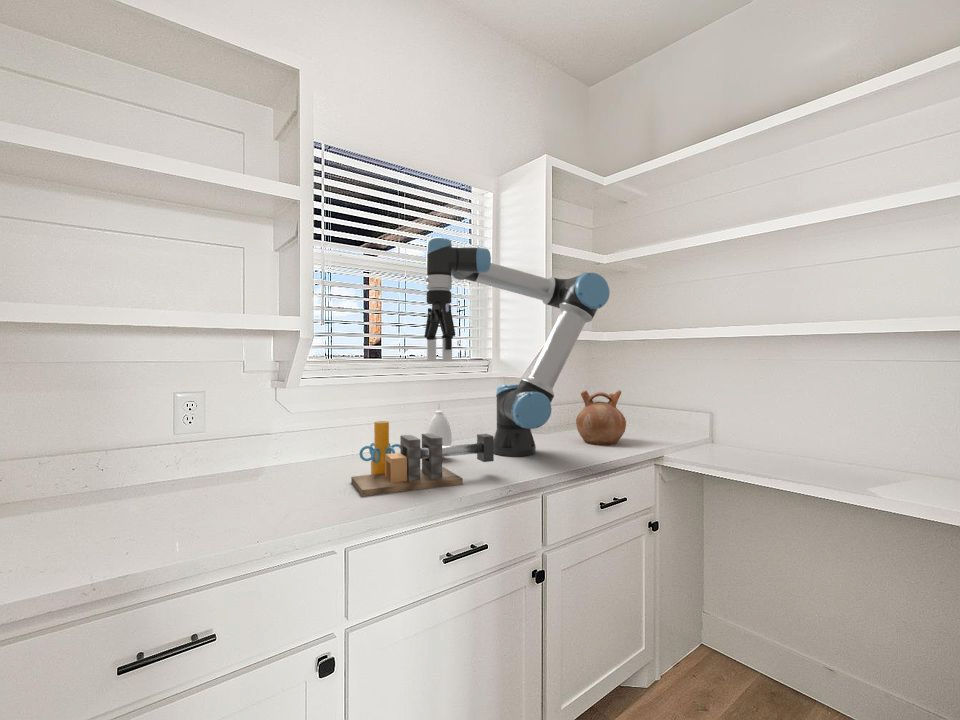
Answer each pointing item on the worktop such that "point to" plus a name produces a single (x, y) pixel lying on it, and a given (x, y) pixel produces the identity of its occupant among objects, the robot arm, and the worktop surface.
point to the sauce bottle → (440, 427)
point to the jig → (412, 469)
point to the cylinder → (379, 447)
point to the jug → (601, 420)
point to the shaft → (468, 449)
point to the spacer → (396, 467)
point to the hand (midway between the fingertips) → (439, 361)
